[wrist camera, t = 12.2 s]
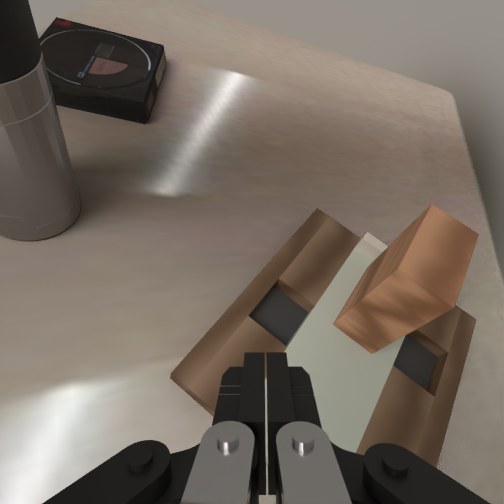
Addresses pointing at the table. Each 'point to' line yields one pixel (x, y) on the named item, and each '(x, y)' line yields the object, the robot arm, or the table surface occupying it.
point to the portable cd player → (102, 70)
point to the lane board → (337, 347)
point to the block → (409, 281)
